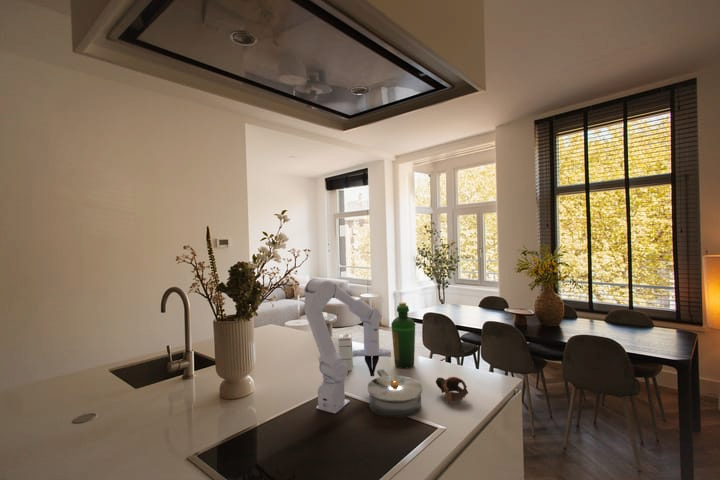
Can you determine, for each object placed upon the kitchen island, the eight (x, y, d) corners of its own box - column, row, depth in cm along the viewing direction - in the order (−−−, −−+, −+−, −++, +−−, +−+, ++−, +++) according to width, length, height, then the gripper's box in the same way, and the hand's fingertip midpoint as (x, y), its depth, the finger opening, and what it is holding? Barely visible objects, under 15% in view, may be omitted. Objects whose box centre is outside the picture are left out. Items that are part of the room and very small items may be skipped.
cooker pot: (412, 422, 106) (412, 406, 106) (361, 412, 114) (360, 397, 114) (430, 390, 128) (430, 377, 128) (386, 383, 135) (385, 371, 135)
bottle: (399, 359, 161) (398, 300, 161) (420, 364, 155) (418, 302, 155) (388, 367, 153) (386, 304, 152) (409, 372, 146) (407, 306, 146)
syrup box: (352, 370, 150) (351, 337, 150) (339, 370, 150) (338, 337, 150) (353, 365, 155) (352, 333, 155) (340, 366, 155) (339, 334, 155)
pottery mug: (471, 395, 124) (472, 381, 120) (460, 416, 118) (462, 401, 114) (440, 380, 131) (440, 366, 127) (428, 399, 124) (428, 385, 120)
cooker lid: (431, 397, 111) (431, 388, 111) (377, 406, 107) (377, 397, 107) (402, 369, 135) (402, 362, 135) (357, 376, 130) (357, 368, 130)
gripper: (390, 336, 134) (391, 371, 134) (353, 336, 135) (354, 371, 135) (390, 341, 127) (391, 378, 127) (351, 342, 128) (352, 378, 128)
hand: (372, 375), depth 130 cm, fingers closed
